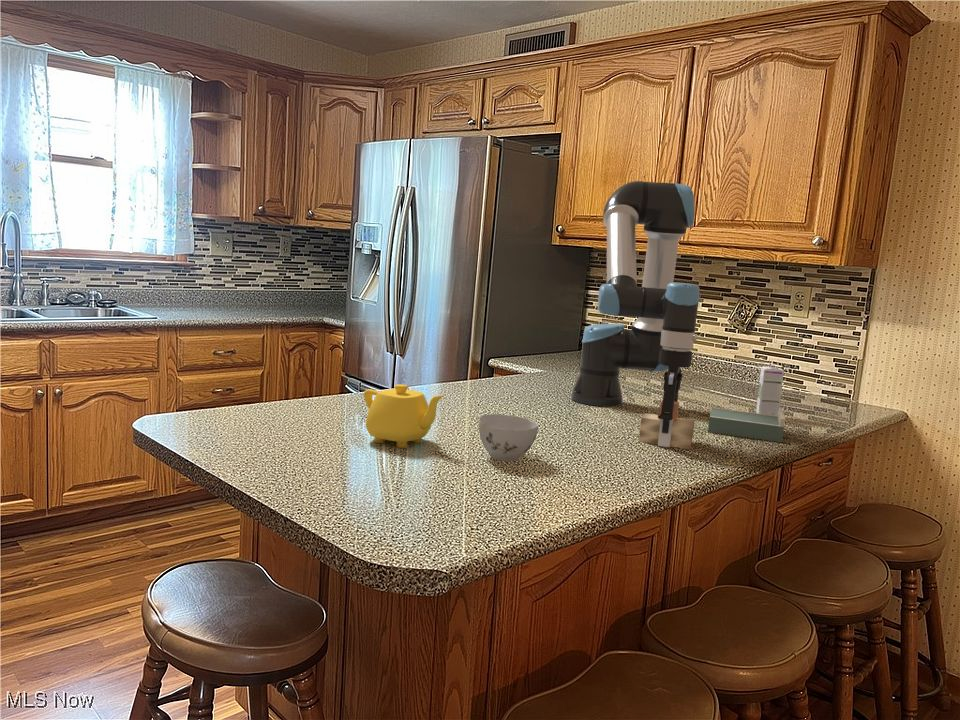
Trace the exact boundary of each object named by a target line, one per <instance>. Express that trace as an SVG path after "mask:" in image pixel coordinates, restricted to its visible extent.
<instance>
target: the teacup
mask: <svg viewBox="0 0 960 720" xmlns="http://www.w3.org/2000/svg"><path fill="white" fill-rule="evenodd" d="M538 431H539V423H538V422H536V421H535V420H530V419H529V418H526V417H522V416H519V415H518V416H515V415H507V414H501V413H495V414H494V413H493V414H492V413H490V414H489V413H488V414H483V415H481V416H479V418H478V433H479V438H480V440H481V443H482V445H483V447H484V449H485V450H486V451H487V452H488V454H489V455H490V457H491V458H492V459H494V460H497V461H502V462H509V463H510V462H512V463H513V462H518V461H519V460H520V458H522V457H523V456H524V455H525V454H526V453H527V452H528V451H529V450H531V448H532V446H533V444H534V442H535V440H536V437H537V435H538Z"/></svg>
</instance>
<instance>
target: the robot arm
mask: <svg viewBox="0 0 960 720" xmlns="http://www.w3.org/2000/svg"><path fill="white" fill-rule="evenodd" d="M695 211H696V209H695V195H694V191H693V188H692V187H690V186H689V185H687V184H681V183H676V182H674V183H673V182H657V181H643V180H634V181H630V182H627V183H624V184H622V185H621V186H619V187H618V188H616V189H615V191H614V192H612V193H611V195H610V197H608V199H607V201H606V203H605V206H604V208H603V214H602V219H603V220H602V221H603V225H604V226H605V228H606V283H602V284H601V285H600V287H599V289H598V296H597V297H598V298H597V310H598V312H599V313H600V314H602V315H606V316H607V315H608V316H615V317H616V316H617V317H628V318H629V317H632V318H633V317H634V318H636V320H634V321H633V322H632V323H631V328H630V329H627V328H625V326H624V324H622V323H600V324H597V323H596V324H591V325H587V326H585V328H584V330H583V336H582V340H581V343H582V346H581V356H580V365H579V373H578V376H577V378H576V381H575V383H574V386H573V389H572V390H571V396H570V398H571V400H572V401H574V402H576V403H580V404H583V405H584V404H585V405H589V406H596V407H597V406H598V407H619V406H622V405H623V397H624V396H623V392H622V388H621V383H620V370H621V369H622V370H633V371H634V370H635V371H647V372H651V373H652V372H660V373H661V372H664V375H663V380H664V382H663V395H662V396H663V397H662V400H663V403H662V410H661V414H660V415H659V414H657V415H658V418H659V419H661V421H660V429H659V438H658V445H657V446H658V447H664V448H670V447H671V446H670V440H671V432H672V423H673V420H672V419H673V409H674V403H675V402H679V400H678V399H679V392H680V391H679V390H680V388H681V383H682V379H683V373H682V368H683V369H684V368H686V369H687V368H690V367H691V366H692V362H693V352H692V351H691V350H692V349H693V348H694V341H697V340H698V338H697V336H695V334H696V333H695V332H696V325H697V318H698V309H699V302H700V290H701V289H700V286H699V285H698V284H694V283H685V282H674V279H675V271H676V266H677V265H676V264H677V258H678V252H679V251H678V250H679V243H680V239H681V238H683V237H684V236H686V231H687V229H689V228H692V227H693V225H694V220H695ZM638 224H641V225H643V232H644V233H645V234H646V236H647V243H646V244H647V245H646V253H645V260H644V269H643V275H642V276H643V277H642V283H641V286H637V285H638V279H637V278H638V277H637V274H638V273H637V248H636V247H637V246H636V245H637V243H636V227H637V225H638ZM665 412H667V413H665ZM678 412H680V407H679V410H678Z"/></svg>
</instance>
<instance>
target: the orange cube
mask: <svg viewBox="0 0 960 720" xmlns="http://www.w3.org/2000/svg"><path fill="white" fill-rule="evenodd" d="M662 403H663V399H662V400H661V402H660V405H659V414H658V415H660V414H661V410H662ZM679 408H680V401H678V402H675V403H674V409H673V419H672V420H673V421H675V422H676V421H677V418H679V411H680V409H679ZM678 410H679V411H678ZM665 413H667V412H665Z"/></svg>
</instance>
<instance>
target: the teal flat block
mask: <svg viewBox="0 0 960 720" xmlns="http://www.w3.org/2000/svg"><path fill="white" fill-rule="evenodd" d="M710 409H711V410H710V412H709V413H710V414H709V417H708V418H709V420H708V427H707V428H708V429H707V432H708V433H712V434H713V433H714V434H719V435H725V436H734V437H741V438H746V437H748V439H753V438H754V439H755V440H760V439H761V441H767V440H769V441H770V442H774V441H775V443H782V442H783V438H784V430H785V422H786V418H785V414H784V411H783V409H782V408H780V409H778V415H777V416H773V415H766V414H758V413H756V412H749V411H741V410H735V409H727V408H719V407H711V408H710Z"/></svg>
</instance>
